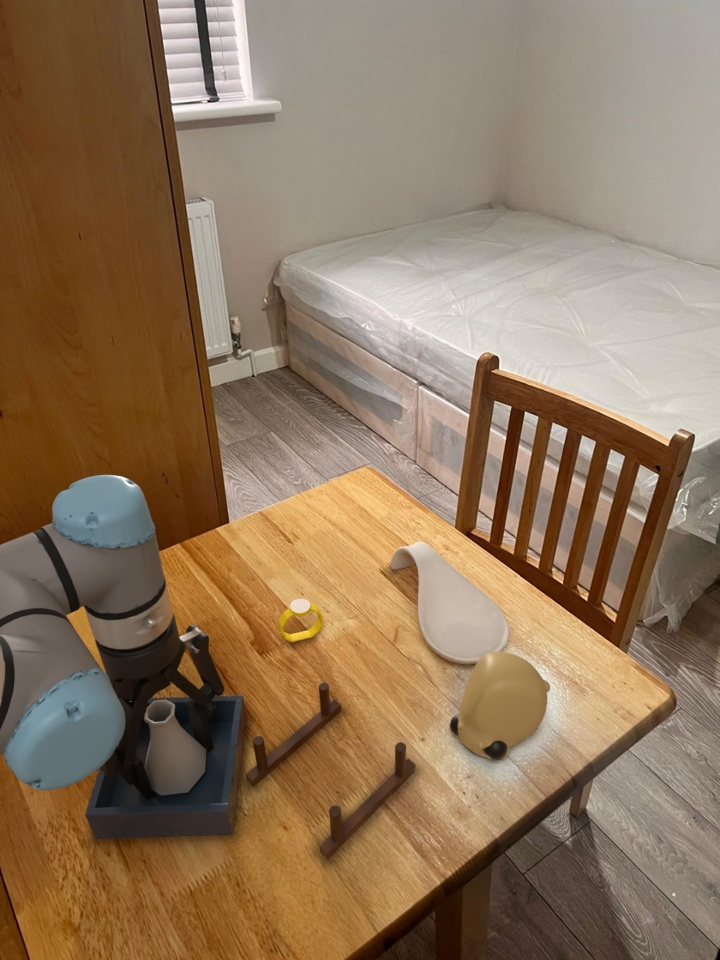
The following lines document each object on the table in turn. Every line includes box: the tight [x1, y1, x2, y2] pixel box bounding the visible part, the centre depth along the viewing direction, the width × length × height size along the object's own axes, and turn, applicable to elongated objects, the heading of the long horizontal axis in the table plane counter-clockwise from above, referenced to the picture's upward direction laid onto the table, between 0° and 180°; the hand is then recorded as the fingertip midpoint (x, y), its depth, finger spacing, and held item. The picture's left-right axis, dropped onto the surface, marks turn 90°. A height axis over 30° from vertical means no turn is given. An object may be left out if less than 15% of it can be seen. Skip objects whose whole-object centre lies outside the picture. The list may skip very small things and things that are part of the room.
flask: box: [144, 700, 206, 795], centre depth 80 cm, size 7×7×10 cm
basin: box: [85, 694, 248, 840], centre depth 82 cm, size 15×15×5 cm
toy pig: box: [449, 651, 551, 761], centre depth 85 cm, size 10×12×11 cm
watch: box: [277, 598, 324, 643], centre depth 99 cm, size 6×3×6 cm, turn 111°
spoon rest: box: [389, 541, 511, 665], centre depth 101 cm, size 24×12×7 cm, turn 25°
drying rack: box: [245, 681, 416, 860], centre depth 81 cm, size 14×13×6 cm
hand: (174, 766), depth 82 cm, fingers closed on flask, 7 cm apart
